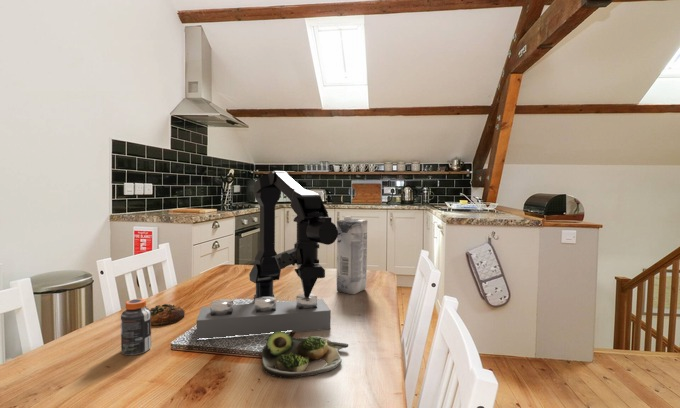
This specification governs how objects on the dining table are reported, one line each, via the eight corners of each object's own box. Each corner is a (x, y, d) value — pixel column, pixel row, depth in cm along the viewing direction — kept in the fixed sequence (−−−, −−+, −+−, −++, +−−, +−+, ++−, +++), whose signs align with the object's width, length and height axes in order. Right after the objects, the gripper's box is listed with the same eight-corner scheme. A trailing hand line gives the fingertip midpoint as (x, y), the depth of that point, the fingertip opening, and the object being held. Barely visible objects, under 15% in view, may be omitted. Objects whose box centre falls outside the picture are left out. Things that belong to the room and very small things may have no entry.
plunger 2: (295, 318, 101) (295, 294, 100) (314, 317, 102) (315, 293, 102) (297, 326, 95) (298, 300, 95) (318, 324, 97) (319, 299, 97)
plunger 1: (211, 325, 95) (211, 299, 95) (233, 324, 97) (233, 298, 96) (209, 334, 90) (209, 306, 90) (232, 332, 91) (232, 305, 91)
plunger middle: (254, 322, 98) (254, 297, 98) (275, 320, 99) (275, 295, 99) (255, 330, 93) (255, 303, 92) (277, 328, 94) (277, 302, 94)
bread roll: (187, 321, 100) (185, 303, 99) (142, 334, 94) (139, 316, 94) (182, 310, 109) (180, 294, 109) (141, 322, 104) (138, 305, 103)
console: (201, 325, 97) (201, 307, 96) (322, 315, 105) (322, 298, 105) (196, 341, 87) (196, 320, 87) (330, 329, 95) (330, 310, 95)
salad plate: (340, 338, 91) (340, 319, 91) (360, 374, 73) (360, 351, 73) (261, 344, 86) (261, 325, 86) (262, 384, 69) (262, 360, 69)
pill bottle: (157, 347, 83) (156, 298, 83) (132, 358, 78) (132, 306, 77) (139, 342, 86) (139, 295, 85) (115, 352, 81) (114, 302, 80)
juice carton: (369, 289, 133) (370, 216, 132) (354, 296, 124) (355, 217, 123) (348, 285, 138) (349, 214, 137) (333, 292, 129) (334, 216, 128)
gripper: (274, 235, 105) (274, 289, 106) (280, 246, 87) (280, 310, 87) (312, 234, 108) (311, 286, 108) (325, 244, 90) (325, 307, 90)
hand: (306, 296), depth 99 cm, fingers closed, pressing on plunger 2
